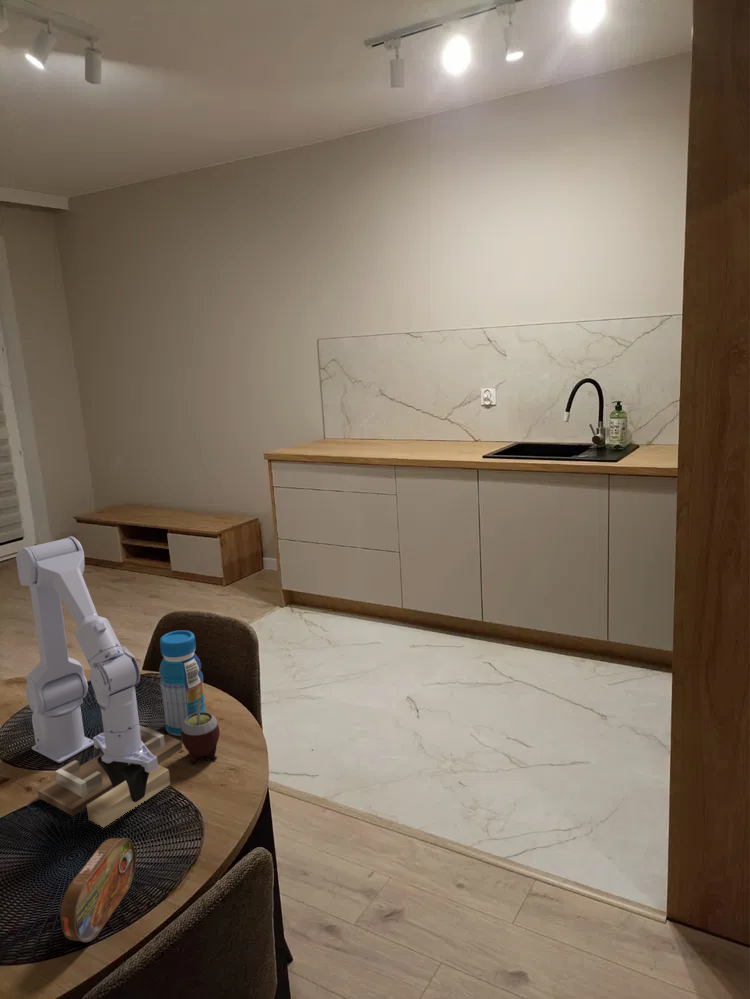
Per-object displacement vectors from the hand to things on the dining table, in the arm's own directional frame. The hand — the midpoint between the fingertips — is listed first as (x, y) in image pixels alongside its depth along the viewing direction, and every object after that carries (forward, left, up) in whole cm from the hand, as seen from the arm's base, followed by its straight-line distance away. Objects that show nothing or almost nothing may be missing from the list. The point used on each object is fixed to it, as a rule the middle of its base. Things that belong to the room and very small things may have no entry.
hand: (130, 794), depth 126 cm
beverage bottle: (-10, +22, -2) cm, 24 cm away
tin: (+17, -18, -2) cm, 25 cm away
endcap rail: (-10, +4, -1) cm, 11 cm away
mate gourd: (+1, +16, -2) cm, 16 cm away
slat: (0, 0, -2) cm, 2 cm away
